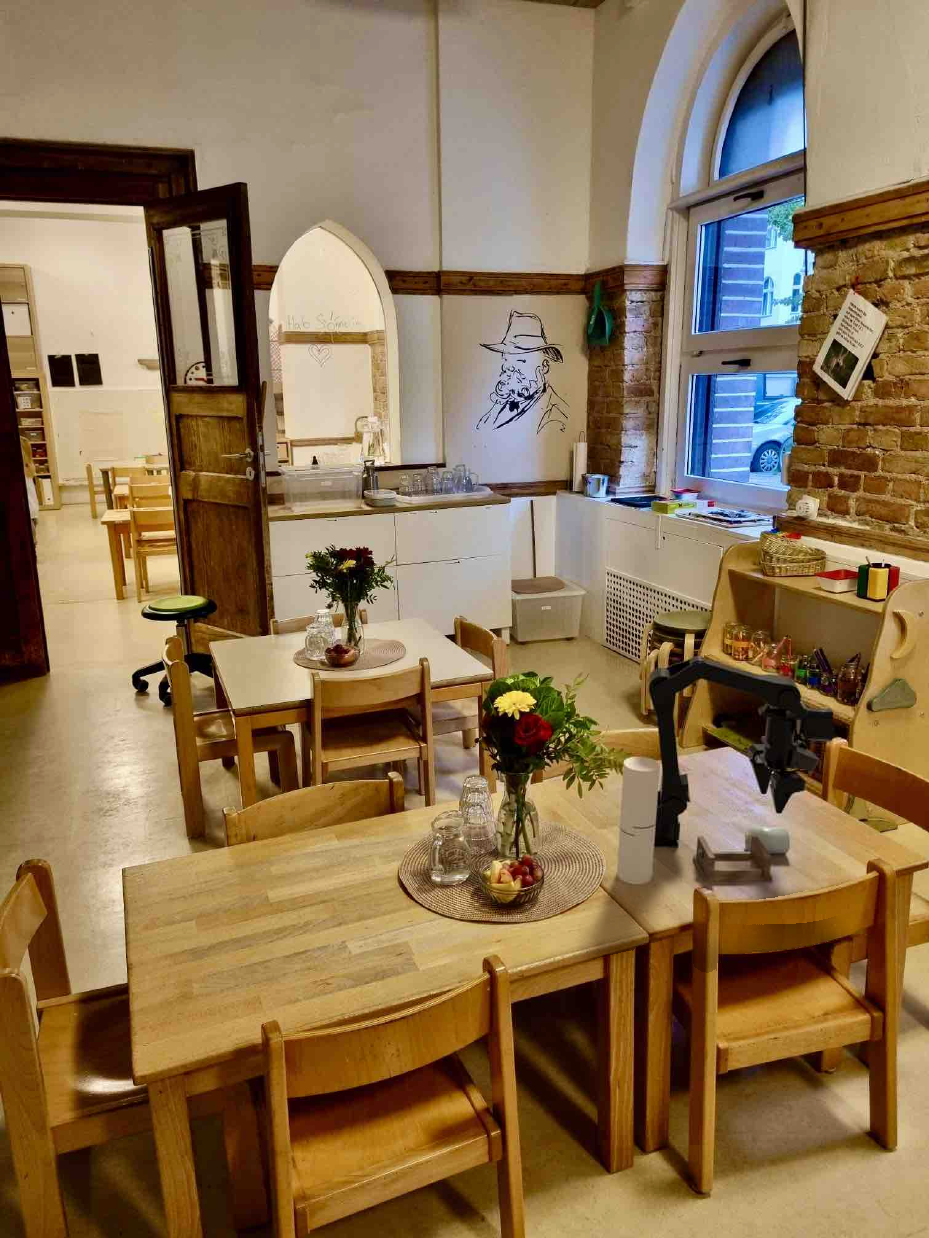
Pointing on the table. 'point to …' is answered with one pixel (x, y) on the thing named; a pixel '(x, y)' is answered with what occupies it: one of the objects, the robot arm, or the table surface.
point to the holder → (733, 863)
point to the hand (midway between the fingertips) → (770, 803)
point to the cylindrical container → (638, 820)
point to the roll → (769, 838)
